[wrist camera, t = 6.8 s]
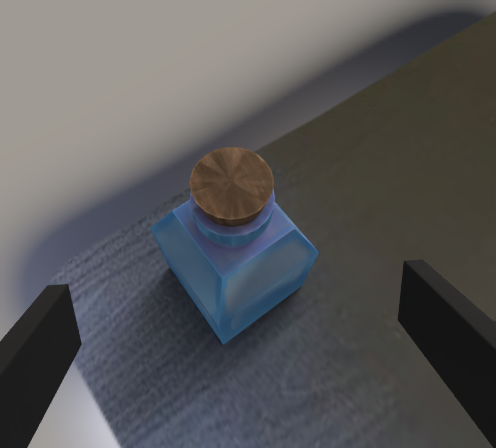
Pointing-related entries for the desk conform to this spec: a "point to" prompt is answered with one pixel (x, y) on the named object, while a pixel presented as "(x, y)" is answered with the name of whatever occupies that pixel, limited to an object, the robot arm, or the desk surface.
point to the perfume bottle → (234, 242)
